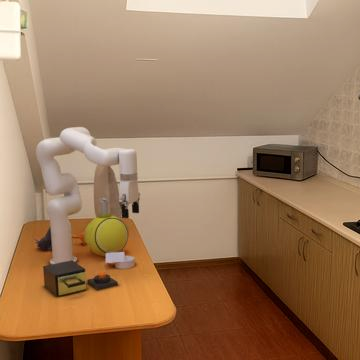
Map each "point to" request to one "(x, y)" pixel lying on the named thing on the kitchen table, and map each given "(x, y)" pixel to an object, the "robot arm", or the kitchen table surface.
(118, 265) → the wedge on round base
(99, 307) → the kitchen table surface
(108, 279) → the control block
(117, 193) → the pillow
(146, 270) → the kitchen table surface
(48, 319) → the kitchen table surface
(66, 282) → the tray
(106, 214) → the toy
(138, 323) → the kitchen table surface
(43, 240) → the dragon figurine
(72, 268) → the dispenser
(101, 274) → the button
